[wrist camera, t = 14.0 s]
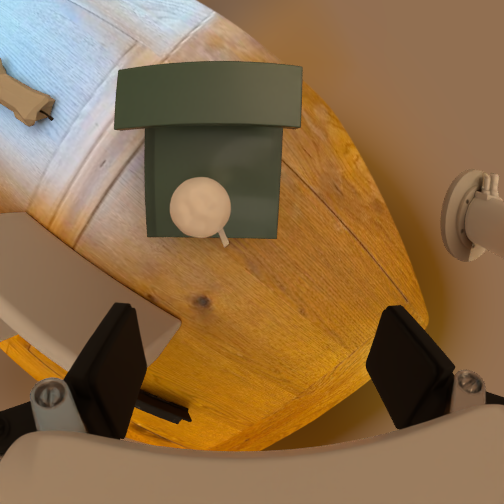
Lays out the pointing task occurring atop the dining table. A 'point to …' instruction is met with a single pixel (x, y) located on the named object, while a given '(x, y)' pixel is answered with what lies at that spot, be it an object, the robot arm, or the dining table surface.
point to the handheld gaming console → (161, 408)
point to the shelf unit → (212, 135)
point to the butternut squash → (24, 99)
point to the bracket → (63, 295)
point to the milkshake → (201, 208)
